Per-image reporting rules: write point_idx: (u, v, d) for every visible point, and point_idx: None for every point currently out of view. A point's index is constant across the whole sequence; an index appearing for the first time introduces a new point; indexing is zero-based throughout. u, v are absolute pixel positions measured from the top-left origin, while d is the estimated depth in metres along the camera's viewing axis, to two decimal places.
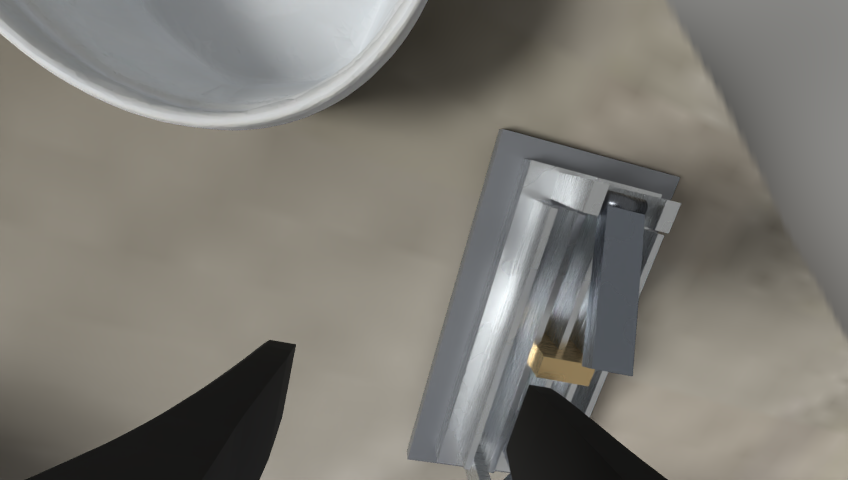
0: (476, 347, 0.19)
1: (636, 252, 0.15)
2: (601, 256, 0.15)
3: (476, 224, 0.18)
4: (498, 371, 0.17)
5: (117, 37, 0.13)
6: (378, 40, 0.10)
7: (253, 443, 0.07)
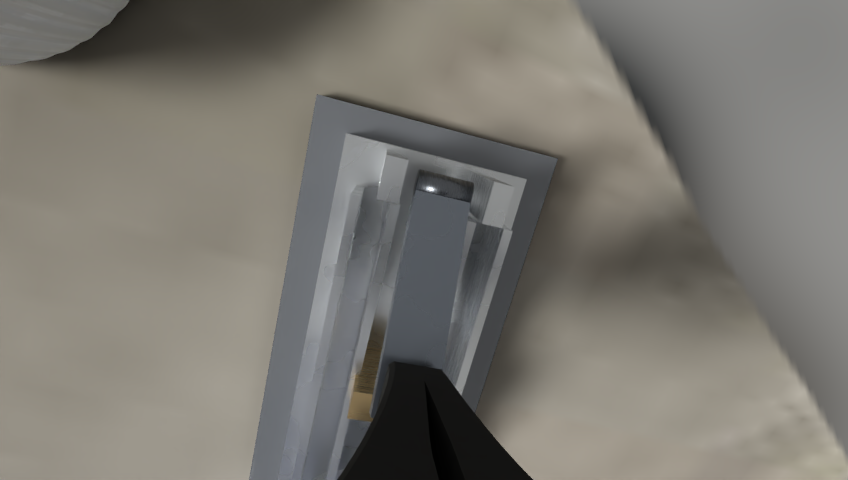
0: (303, 374, 0.15)
1: (453, 253, 0.11)
2: (401, 259, 0.11)
3: (296, 218, 0.14)
4: (308, 408, 0.13)
5: None
6: None
7: None
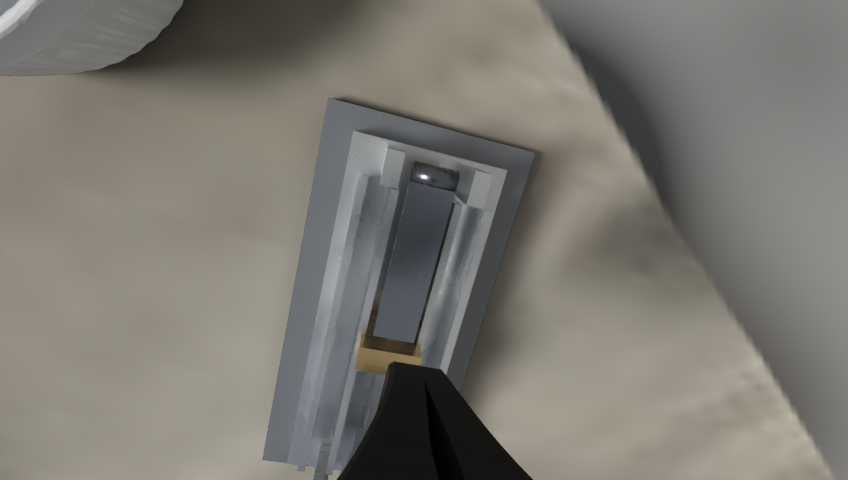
0: (316, 338, 0.17)
1: (437, 232, 0.14)
2: (397, 235, 0.14)
3: (309, 203, 0.17)
4: (321, 363, 0.16)
5: None
6: None
7: None
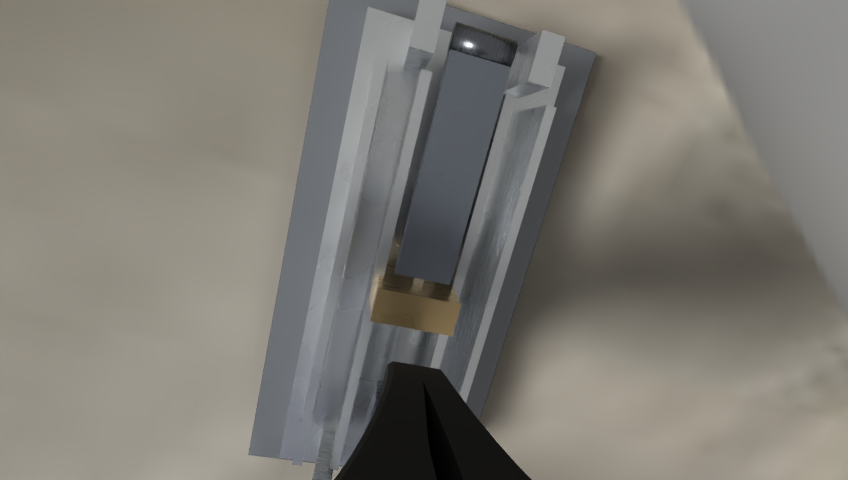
0: (317, 291, 0.14)
1: (484, 126, 0.10)
2: (430, 129, 0.10)
3: (309, 115, 0.13)
4: (325, 317, 0.12)
5: None
6: None
7: None
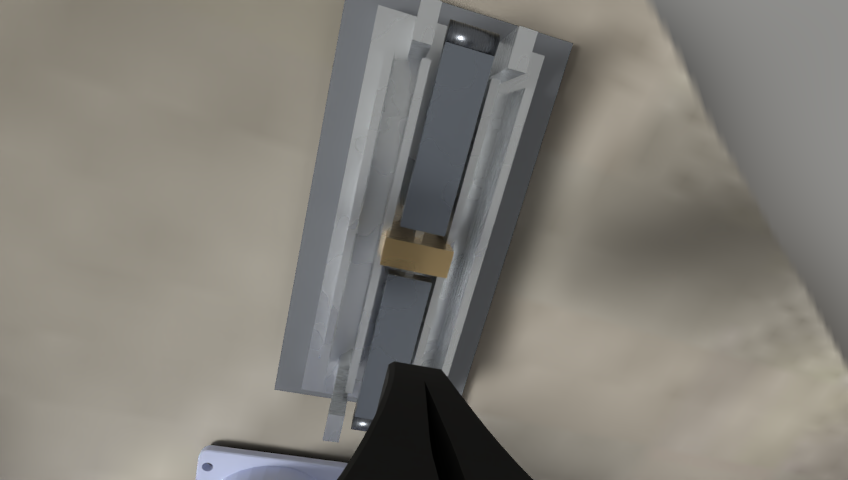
0: (334, 247, 0.16)
1: (473, 104, 0.13)
2: (428, 107, 0.13)
3: (328, 97, 0.15)
4: (342, 263, 0.14)
5: None
6: None
7: None
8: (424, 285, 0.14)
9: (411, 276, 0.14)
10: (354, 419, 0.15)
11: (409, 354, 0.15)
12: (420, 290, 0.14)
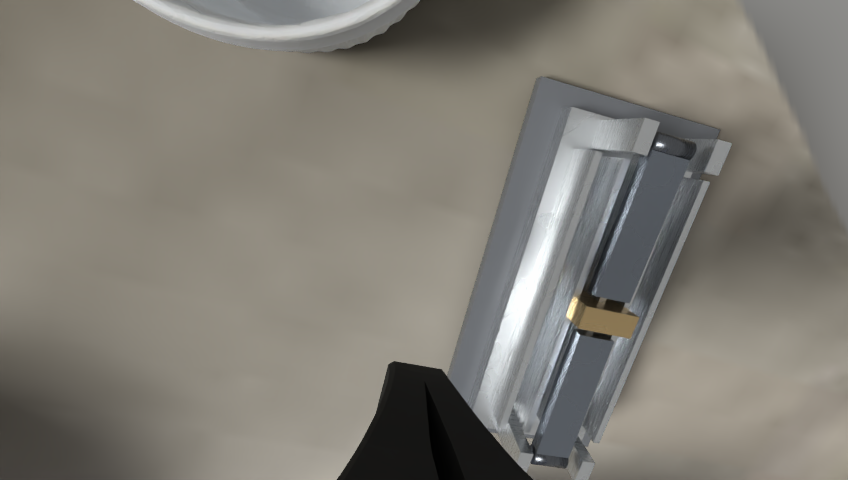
0: (511, 304, 0.19)
1: (668, 198, 0.15)
2: (631, 200, 0.15)
3: (512, 177, 0.18)
4: (537, 324, 0.17)
5: None
6: None
7: None
8: (608, 343, 0.17)
9: (595, 336, 0.17)
10: (536, 455, 0.18)
11: (588, 401, 0.17)
12: (604, 348, 0.17)
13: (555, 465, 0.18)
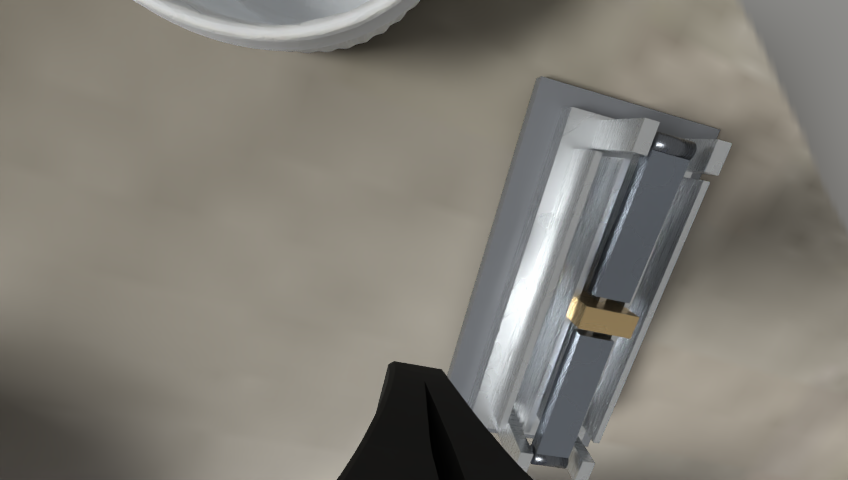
0: (511, 304, 0.19)
1: (668, 198, 0.15)
2: (631, 200, 0.15)
3: (512, 177, 0.18)
4: (537, 324, 0.17)
5: None
6: None
7: None
8: (608, 343, 0.17)
9: (595, 336, 0.17)
10: (536, 455, 0.18)
11: (588, 401, 0.17)
12: (604, 348, 0.17)
13: (555, 465, 0.18)
